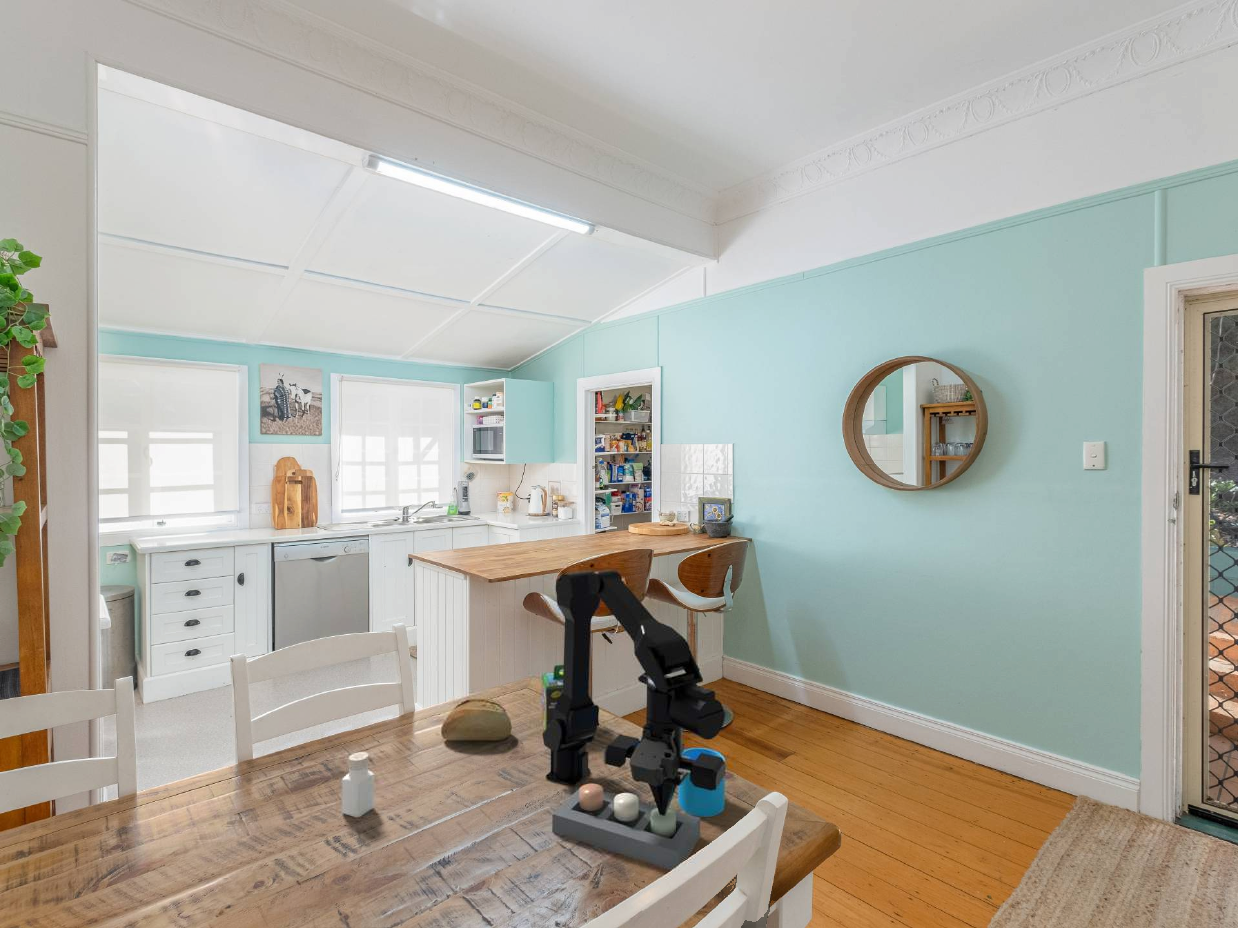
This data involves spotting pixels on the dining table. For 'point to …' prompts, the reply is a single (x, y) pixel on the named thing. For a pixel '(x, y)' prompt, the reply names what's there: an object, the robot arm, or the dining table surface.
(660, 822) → the sage button
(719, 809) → the mug
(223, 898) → the dining table surface
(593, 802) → the terracotta button
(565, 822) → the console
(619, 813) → the cream button
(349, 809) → the pepper shaker
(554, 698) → the chalk box
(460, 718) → the bread roll
